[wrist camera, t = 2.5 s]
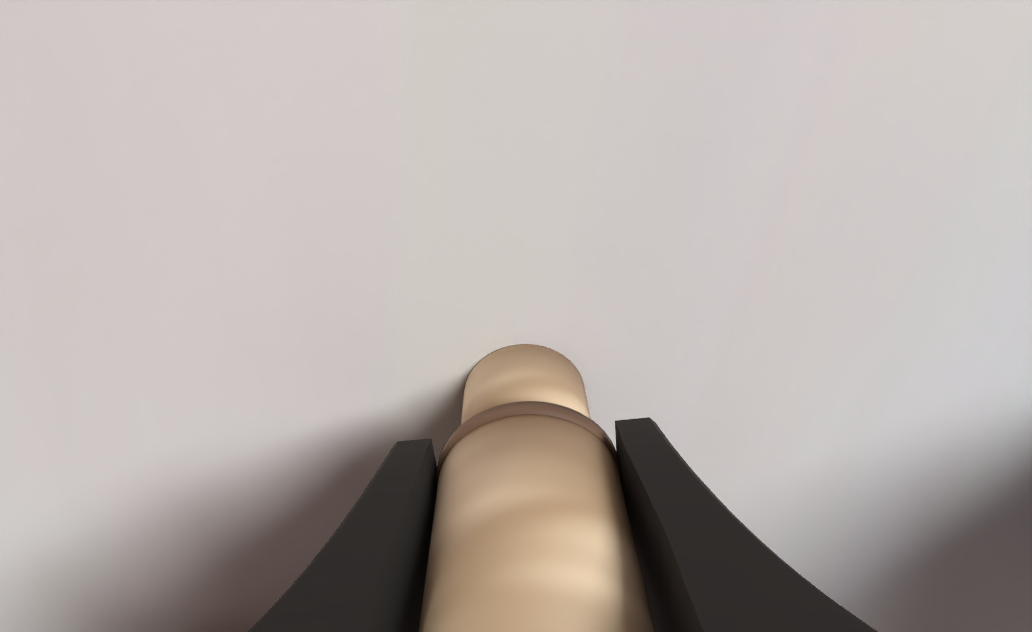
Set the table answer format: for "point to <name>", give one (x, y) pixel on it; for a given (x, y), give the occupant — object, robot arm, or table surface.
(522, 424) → the peg
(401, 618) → the robot arm
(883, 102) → the table surface
